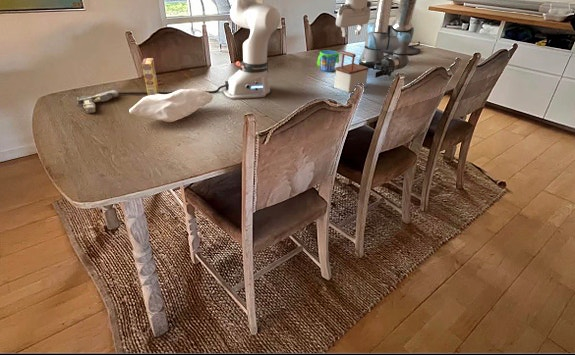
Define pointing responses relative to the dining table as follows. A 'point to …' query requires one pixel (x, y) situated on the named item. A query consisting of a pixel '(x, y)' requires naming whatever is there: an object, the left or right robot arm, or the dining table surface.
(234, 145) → the dining table surface
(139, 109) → the crumpled cloth
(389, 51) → the grey round tray
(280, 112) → the dining table surface
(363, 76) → the chest
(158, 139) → the dining table surface
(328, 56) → the snack cup
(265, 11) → the left robot arm
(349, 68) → the lid
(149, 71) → the candy box
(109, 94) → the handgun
